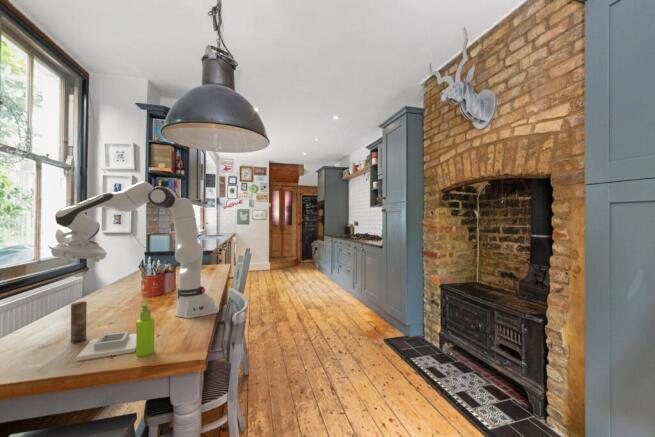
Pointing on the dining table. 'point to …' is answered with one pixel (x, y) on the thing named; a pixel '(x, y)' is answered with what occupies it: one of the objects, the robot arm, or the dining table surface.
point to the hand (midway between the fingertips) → (85, 260)
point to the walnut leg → (78, 321)
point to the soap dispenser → (145, 332)
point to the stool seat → (109, 346)
